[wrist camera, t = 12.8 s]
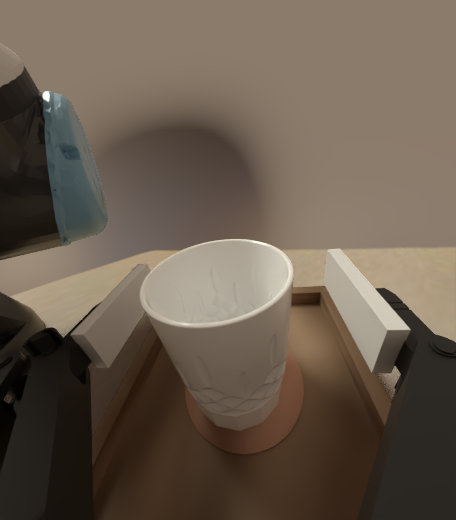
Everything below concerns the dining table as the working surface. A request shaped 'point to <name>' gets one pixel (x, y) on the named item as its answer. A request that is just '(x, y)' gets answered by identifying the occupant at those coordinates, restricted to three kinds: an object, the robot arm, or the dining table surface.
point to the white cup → (225, 325)
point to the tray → (246, 435)
